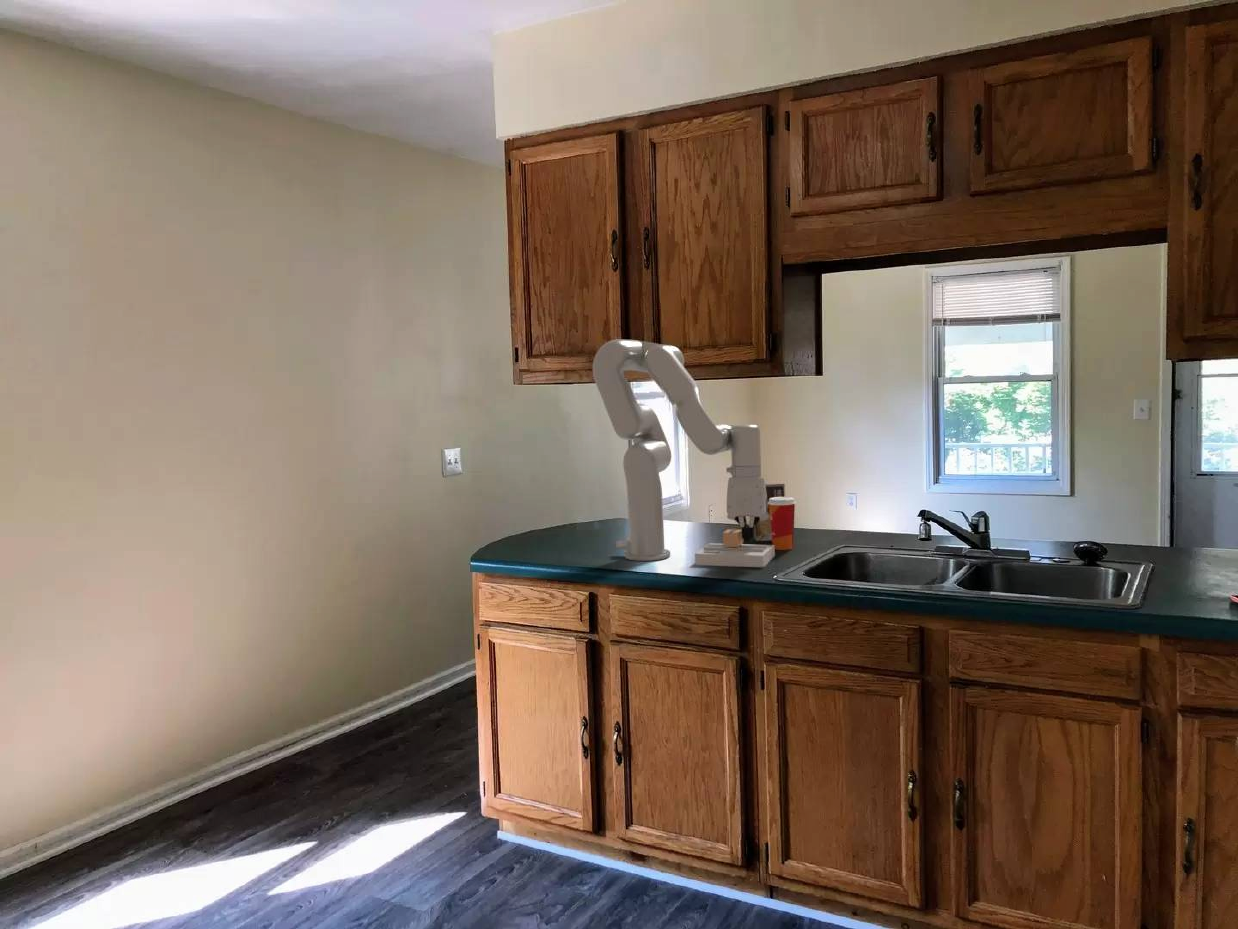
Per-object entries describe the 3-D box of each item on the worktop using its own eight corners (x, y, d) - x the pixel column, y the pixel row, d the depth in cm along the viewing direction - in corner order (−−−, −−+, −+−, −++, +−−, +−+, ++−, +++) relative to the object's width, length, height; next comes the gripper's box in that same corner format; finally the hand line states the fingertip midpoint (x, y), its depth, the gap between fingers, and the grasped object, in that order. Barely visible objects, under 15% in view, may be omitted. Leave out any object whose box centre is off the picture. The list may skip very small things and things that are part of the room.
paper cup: (777, 544, 264) (776, 495, 262) (802, 546, 259) (800, 497, 257) (763, 549, 258) (762, 499, 256) (788, 552, 253) (786, 501, 251)
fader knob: (723, 550, 243) (722, 531, 242) (728, 546, 248) (727, 528, 247) (738, 550, 242) (737, 532, 241) (742, 547, 246) (742, 528, 246)
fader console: (695, 564, 241) (694, 550, 241) (709, 554, 254) (709, 540, 254) (763, 567, 235) (763, 552, 235) (774, 556, 248) (774, 542, 248)
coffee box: (787, 537, 274) (786, 483, 273) (786, 541, 268) (784, 486, 267) (756, 537, 277) (754, 483, 275) (754, 541, 270) (752, 486, 269)
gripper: (714, 473, 240) (716, 543, 242) (772, 473, 235) (773, 545, 237) (722, 470, 247) (724, 538, 249) (777, 470, 242) (779, 539, 244)
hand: (748, 541), depth 243 cm, fingers closed
